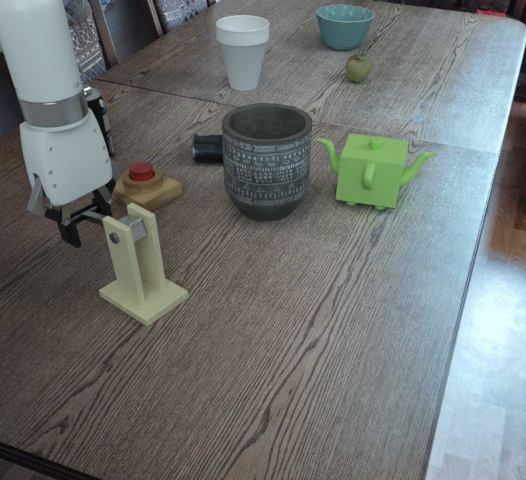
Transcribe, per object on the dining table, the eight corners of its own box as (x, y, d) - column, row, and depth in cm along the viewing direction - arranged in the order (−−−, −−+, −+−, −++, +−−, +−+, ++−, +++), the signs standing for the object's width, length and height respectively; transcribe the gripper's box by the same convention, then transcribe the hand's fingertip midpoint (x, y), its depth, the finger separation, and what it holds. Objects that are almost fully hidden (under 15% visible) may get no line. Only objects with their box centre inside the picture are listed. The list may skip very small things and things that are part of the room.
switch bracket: (100, 296, 79) (78, 215, 69) (142, 270, 83) (126, 190, 74) (147, 327, 74) (130, 245, 65) (189, 297, 79) (179, 216, 69)
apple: (367, 74, 139) (371, 48, 135) (369, 86, 134) (373, 60, 130) (343, 73, 140) (346, 48, 136) (344, 85, 134) (347, 59, 130)
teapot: (425, 205, 96) (439, 146, 88) (367, 228, 91) (376, 169, 83) (368, 169, 105) (376, 113, 97) (312, 188, 100) (316, 131, 92)
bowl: (372, 38, 159) (377, 6, 153) (367, 57, 148) (371, 22, 142) (319, 34, 161) (321, 2, 155) (309, 52, 150) (311, 18, 145)
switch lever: (67, 228, 77) (61, 213, 75) (96, 213, 79) (90, 198, 78) (125, 247, 69) (119, 230, 68) (155, 230, 72) (149, 213, 70)
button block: (107, 195, 98) (102, 175, 95) (145, 176, 103) (141, 156, 100) (145, 215, 94) (141, 194, 91) (182, 194, 98) (180, 173, 96)
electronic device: (194, 175, 106) (271, 163, 105) (188, 146, 103) (267, 134, 101) (198, 158, 113) (270, 147, 112) (192, 131, 110) (266, 119, 109)
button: (125, 177, 95) (123, 167, 94) (143, 168, 98) (141, 159, 96) (141, 184, 94) (139, 175, 92) (158, 175, 96) (157, 166, 95)
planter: (209, 213, 94) (202, 127, 83) (253, 177, 103) (252, 95, 92) (280, 238, 89) (283, 150, 78) (321, 199, 97) (328, 114, 87)
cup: (252, 99, 128) (252, 34, 118) (208, 89, 132) (204, 25, 123) (277, 82, 136) (279, 19, 126) (235, 72, 140) (233, 11, 130)
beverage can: (74, 158, 108) (58, 95, 99) (99, 145, 111) (85, 84, 103) (98, 167, 105) (83, 103, 97) (122, 154, 109) (110, 92, 100)
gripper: (92, 78, 72) (119, 201, 85) (-28, 122, 63) (23, 252, 76) (129, 92, 69) (151, 218, 82) (9, 140, 60) (55, 273, 73)
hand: (89, 233), depth 79 cm, fingers closed on switch lever, 5 cm apart
